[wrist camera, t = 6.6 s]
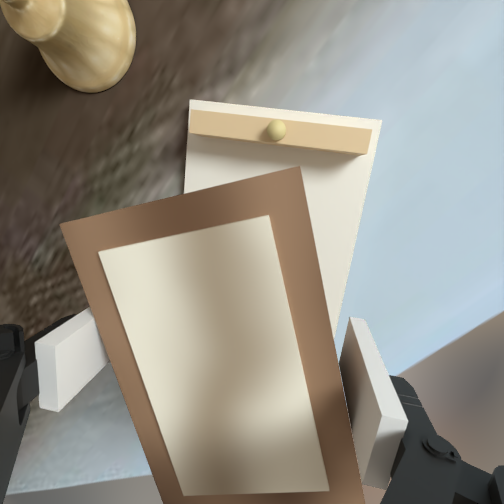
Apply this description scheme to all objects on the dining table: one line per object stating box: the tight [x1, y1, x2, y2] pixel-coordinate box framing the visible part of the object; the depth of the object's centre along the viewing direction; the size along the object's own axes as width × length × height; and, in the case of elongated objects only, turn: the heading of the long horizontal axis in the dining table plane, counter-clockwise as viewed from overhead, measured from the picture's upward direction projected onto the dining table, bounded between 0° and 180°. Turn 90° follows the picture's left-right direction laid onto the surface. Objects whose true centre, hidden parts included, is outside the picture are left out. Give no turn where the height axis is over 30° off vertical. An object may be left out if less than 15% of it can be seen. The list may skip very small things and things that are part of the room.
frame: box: [60, 166, 365, 504], centre depth 14 cm, size 9×14×5 cm, turn 13°
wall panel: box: [184, 100, 382, 339], centre depth 25 cm, size 14×24×4 cm, turn 173°
